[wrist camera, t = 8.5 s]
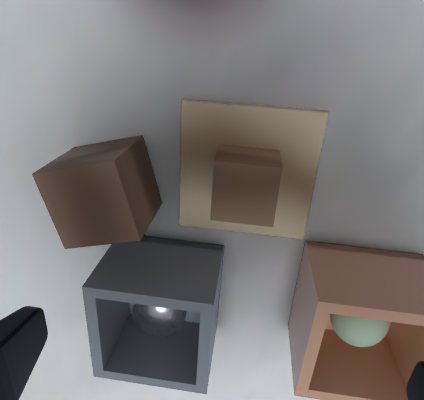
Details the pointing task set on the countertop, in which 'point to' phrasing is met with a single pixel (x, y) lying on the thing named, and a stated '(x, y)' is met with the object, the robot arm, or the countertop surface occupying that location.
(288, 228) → the lid
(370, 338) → the ball
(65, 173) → the walnut block
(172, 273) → the grey open square bin
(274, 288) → the countertop surface
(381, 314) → the pot
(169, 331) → the dark grey round piece
